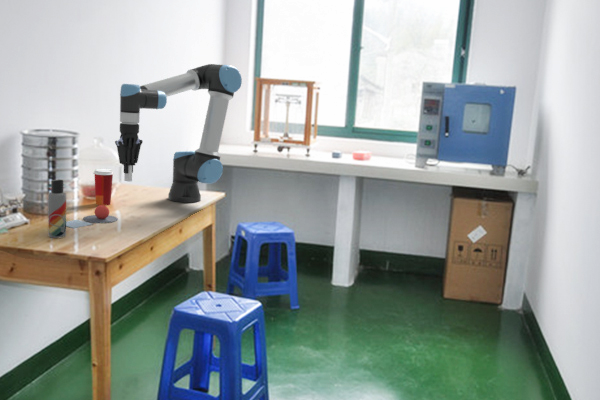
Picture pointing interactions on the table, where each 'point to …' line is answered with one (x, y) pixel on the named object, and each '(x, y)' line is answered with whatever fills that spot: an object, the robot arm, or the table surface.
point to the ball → (101, 212)
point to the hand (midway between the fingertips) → (128, 180)
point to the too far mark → (77, 223)
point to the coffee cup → (103, 186)
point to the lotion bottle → (57, 210)
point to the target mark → (96, 220)
